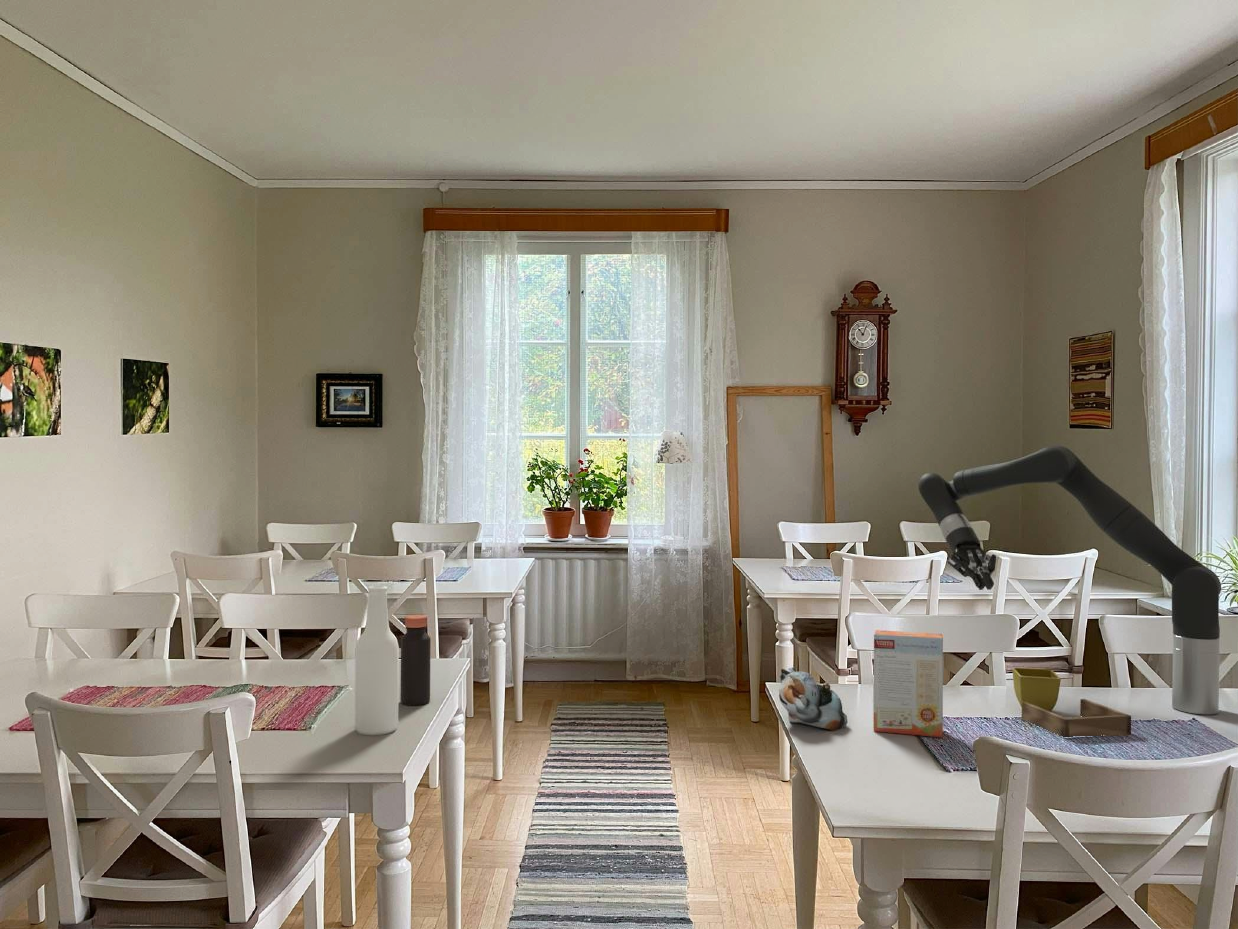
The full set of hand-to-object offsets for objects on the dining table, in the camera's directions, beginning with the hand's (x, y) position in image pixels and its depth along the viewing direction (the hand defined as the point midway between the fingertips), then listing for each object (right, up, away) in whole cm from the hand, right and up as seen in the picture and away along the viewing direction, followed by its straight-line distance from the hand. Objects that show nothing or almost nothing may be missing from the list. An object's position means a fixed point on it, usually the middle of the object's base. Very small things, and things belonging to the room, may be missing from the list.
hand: (986, 587), depth 231 cm
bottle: (-140, -25, -16) cm, 143 cm away
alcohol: (-143, -25, -38) cm, 150 cm away
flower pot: (+4, -26, -18) cm, 32 cm away
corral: (+6, -26, -30) cm, 40 cm away
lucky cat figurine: (-50, -26, -30) cm, 64 cm away
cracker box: (-31, -26, -35) cm, 54 cm away
